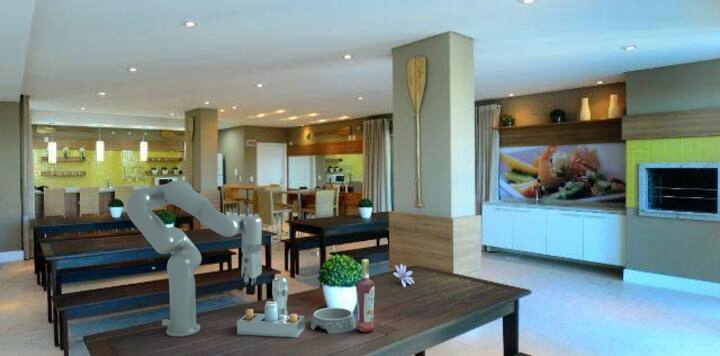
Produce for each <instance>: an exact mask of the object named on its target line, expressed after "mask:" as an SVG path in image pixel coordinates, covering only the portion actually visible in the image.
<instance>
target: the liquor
mask: <svg viewBox="0 0 720 356" xmlns="http://www.w3.org/2000/svg"><path fill="white" fill-rule="evenodd" d="M369 265H370V264H369V259H368V258H362V259H361V267H362V269H361V279H359V280H357V281H356V282H355V290H356V294H355V295H356V306H357V307H356V309H357V326H356V329H357V330H359V332H361V333H371V332H372V331H373V330H374V329H375V325H374V309H375V308H374V305H375V284H376V283H375V282H374V281H373V280H372V279H370V276H369Z"/></svg>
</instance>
